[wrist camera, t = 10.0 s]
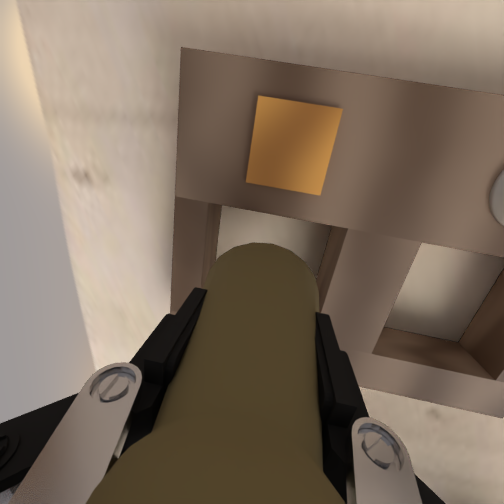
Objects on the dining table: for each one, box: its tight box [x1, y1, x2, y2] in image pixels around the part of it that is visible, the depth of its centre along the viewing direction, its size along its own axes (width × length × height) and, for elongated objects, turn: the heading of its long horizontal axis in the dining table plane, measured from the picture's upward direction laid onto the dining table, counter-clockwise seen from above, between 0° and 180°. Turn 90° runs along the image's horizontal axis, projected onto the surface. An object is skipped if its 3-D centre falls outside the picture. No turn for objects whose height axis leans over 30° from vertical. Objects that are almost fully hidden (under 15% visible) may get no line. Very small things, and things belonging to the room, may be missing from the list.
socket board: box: [170, 47, 504, 418], centre depth 15 cm, size 24×18×4 cm
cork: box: [86, 243, 345, 504], centre depth 7 cm, size 6×6×11 cm
